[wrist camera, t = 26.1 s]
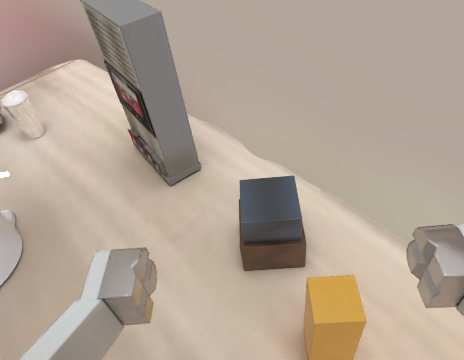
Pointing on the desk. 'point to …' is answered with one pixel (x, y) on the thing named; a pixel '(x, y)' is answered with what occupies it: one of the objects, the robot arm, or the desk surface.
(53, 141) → the desk surface
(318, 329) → the bar
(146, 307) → the robot arm
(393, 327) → the desk surface
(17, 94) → the milkshake
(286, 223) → the tower
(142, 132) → the tall grey box
